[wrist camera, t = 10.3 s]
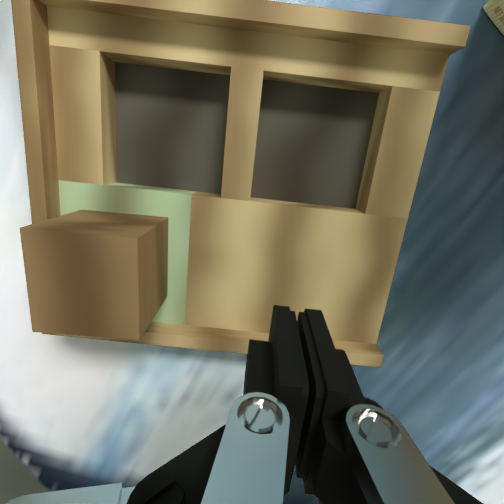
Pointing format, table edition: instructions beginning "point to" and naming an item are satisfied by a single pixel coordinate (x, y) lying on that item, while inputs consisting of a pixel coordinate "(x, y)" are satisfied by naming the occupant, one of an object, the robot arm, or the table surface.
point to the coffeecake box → (496, 13)
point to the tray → (238, 149)
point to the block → (96, 273)
